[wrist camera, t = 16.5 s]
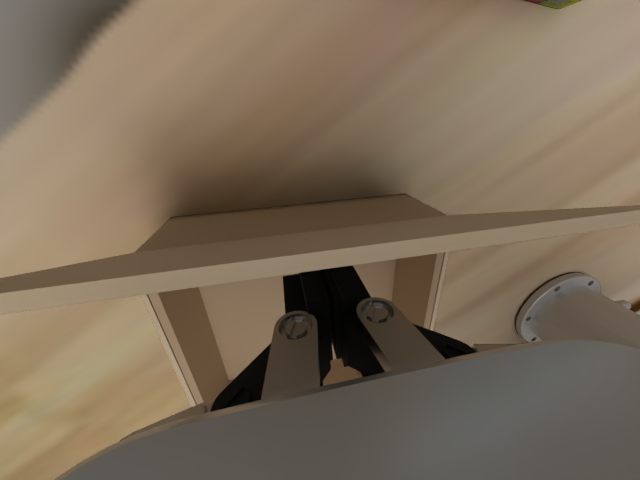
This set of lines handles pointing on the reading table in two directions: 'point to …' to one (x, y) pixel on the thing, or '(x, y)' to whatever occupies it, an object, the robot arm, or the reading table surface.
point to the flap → (293, 254)
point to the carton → (276, 287)
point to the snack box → (555, 3)
